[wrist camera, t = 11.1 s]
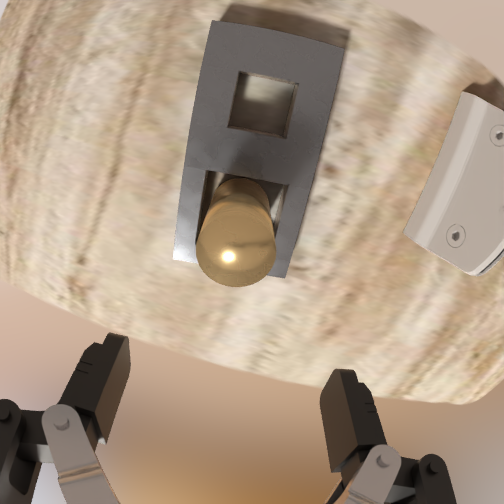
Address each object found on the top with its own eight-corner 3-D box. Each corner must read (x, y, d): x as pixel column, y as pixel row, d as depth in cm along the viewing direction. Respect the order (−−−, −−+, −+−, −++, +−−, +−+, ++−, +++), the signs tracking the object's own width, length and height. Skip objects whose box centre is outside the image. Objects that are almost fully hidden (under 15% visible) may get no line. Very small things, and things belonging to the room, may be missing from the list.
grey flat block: (336, 53, 22) (344, 49, 19) (282, 264, 30) (284, 278, 28) (215, 27, 21) (212, 20, 18) (178, 246, 30) (172, 258, 27)
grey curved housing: (463, 87, 22) (550, 119, 14) (482, 108, 24) (558, 142, 16) (400, 236, 29) (471, 296, 21) (424, 242, 31) (488, 296, 23)
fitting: (274, 184, 27) (284, 223, 19) (261, 236, 29) (266, 292, 21) (216, 173, 26) (201, 208, 18) (207, 226, 29) (191, 279, 21)
